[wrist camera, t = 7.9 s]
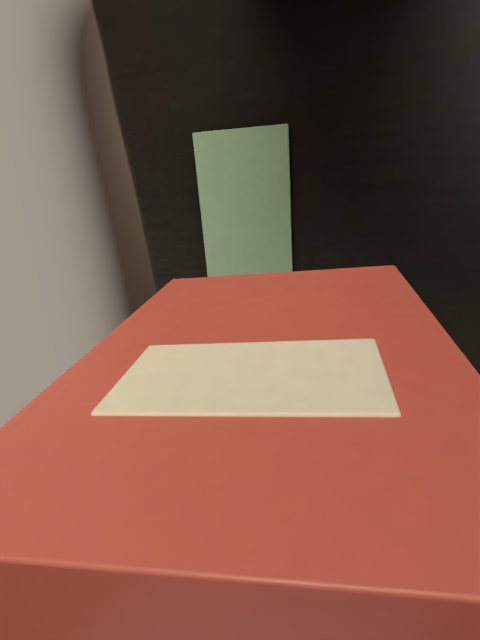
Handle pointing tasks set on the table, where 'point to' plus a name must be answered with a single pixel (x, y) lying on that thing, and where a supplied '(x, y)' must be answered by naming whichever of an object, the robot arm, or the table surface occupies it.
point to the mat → (245, 199)
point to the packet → (250, 471)
